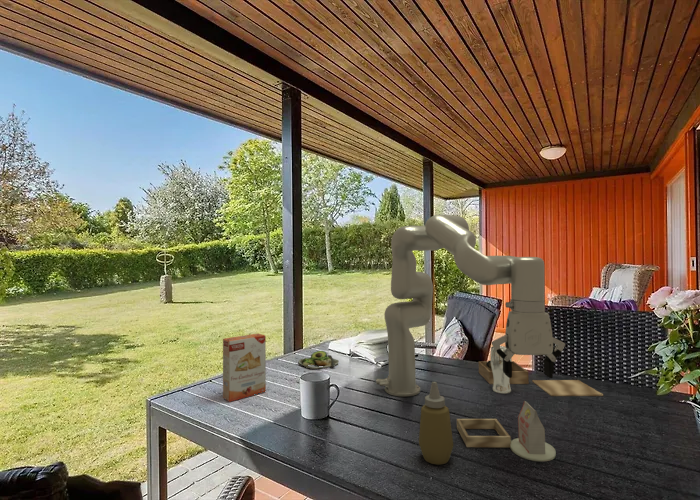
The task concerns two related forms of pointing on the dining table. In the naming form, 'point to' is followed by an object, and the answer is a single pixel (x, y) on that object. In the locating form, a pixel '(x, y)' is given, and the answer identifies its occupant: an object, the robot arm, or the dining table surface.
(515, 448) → the coaster
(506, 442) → the holder
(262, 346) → the cracker box
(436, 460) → the squeeze bottle
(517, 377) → the display tray
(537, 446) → the gable top carton
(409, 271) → the robot arm
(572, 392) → the wooden board
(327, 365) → the salad plate
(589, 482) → the dining table surface
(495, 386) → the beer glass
